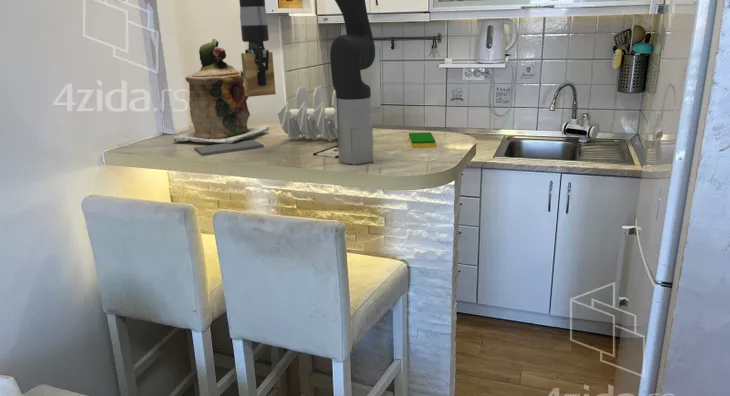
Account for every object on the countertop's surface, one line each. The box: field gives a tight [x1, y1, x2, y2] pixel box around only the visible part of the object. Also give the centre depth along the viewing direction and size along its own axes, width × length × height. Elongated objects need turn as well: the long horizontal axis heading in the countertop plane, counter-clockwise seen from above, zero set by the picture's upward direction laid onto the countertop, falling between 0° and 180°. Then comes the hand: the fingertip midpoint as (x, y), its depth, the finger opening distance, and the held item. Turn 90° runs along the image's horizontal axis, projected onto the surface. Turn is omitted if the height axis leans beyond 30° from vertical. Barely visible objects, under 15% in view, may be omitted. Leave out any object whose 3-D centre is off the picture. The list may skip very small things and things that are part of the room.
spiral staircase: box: [277, 85, 338, 143], centre depth 176 cm, size 18×18×25 cm
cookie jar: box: [172, 38, 270, 144], centre depth 182 cm, size 25×25×32 cm
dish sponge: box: [408, 131, 436, 149], centre depth 170 cm, size 7×14×2 cm, turn 179°
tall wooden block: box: [240, 51, 277, 98], centre depth 160 cm, size 4×8×12 cm, turn 120°
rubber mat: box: [193, 139, 265, 157], centre depth 170 cm, size 10×19×1 cm, turn 120°
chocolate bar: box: [312, 144, 339, 160], centre depth 163 cm, size 9×1×18 cm
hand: (259, 85), depth 161 cm, fingers closed on tall wooden block, 4 cm apart
